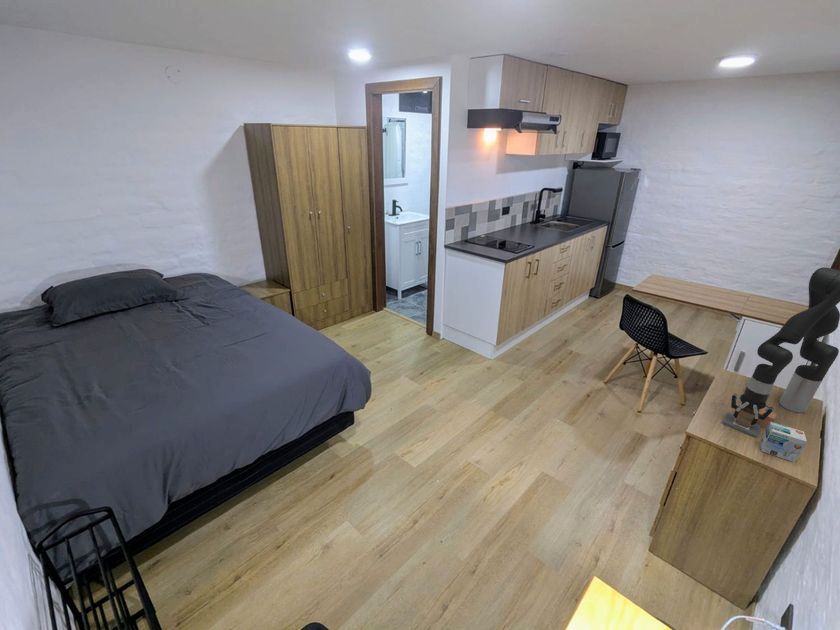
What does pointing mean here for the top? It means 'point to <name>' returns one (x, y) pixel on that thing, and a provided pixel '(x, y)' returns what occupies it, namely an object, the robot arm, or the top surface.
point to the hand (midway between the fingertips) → (743, 420)
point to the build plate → (741, 426)
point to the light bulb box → (783, 441)
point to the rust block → (766, 419)
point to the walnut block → (745, 416)
